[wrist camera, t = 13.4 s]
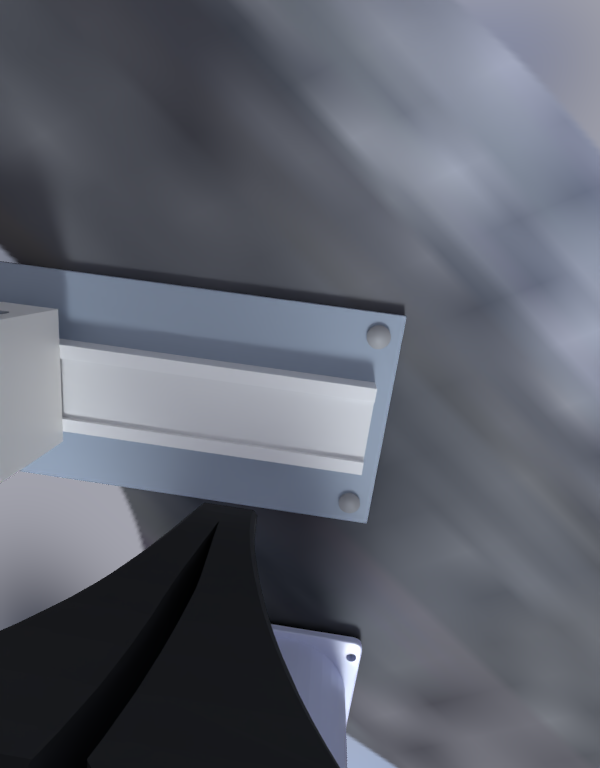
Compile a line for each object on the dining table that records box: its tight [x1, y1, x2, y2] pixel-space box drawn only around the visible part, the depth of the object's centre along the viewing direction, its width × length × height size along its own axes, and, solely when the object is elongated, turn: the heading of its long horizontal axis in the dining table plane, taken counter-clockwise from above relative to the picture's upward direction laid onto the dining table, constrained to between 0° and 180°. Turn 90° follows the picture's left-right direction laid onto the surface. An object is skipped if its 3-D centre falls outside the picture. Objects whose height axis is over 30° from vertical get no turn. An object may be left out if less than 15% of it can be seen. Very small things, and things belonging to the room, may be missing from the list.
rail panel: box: [0, 261, 406, 523], centre depth 19 cm, size 10×23×3 cm, turn 83°
